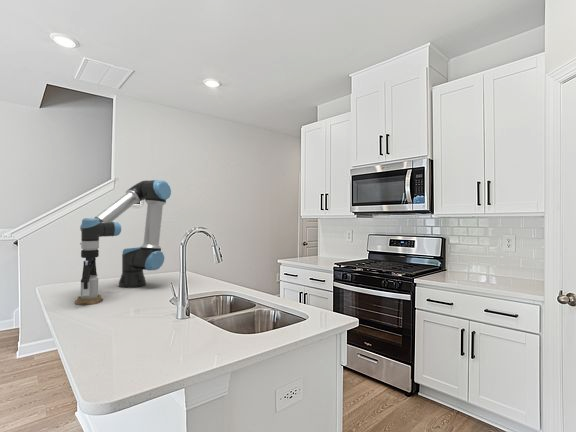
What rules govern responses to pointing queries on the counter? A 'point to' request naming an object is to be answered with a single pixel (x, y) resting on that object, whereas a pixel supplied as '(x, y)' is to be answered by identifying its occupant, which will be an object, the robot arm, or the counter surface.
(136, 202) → the robot arm
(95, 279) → the can
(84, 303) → the seat
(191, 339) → the counter surface
